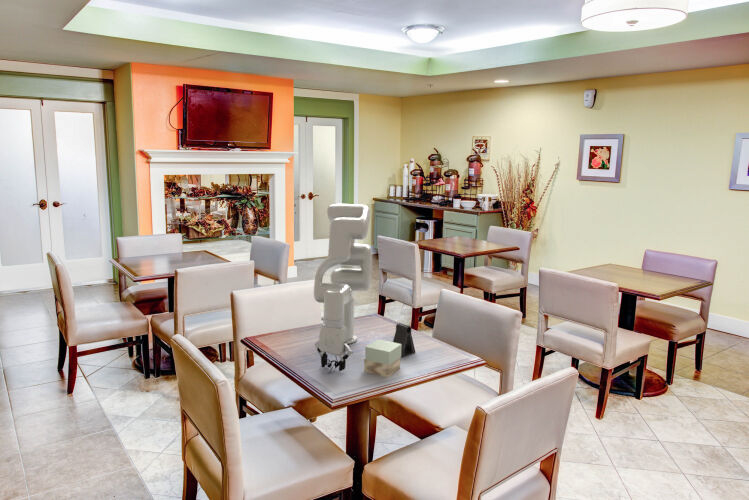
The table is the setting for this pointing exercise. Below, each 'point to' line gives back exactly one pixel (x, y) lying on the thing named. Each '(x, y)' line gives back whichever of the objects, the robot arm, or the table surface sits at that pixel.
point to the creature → (331, 364)
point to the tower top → (383, 351)
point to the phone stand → (404, 339)
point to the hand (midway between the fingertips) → (333, 367)
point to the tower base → (381, 367)
